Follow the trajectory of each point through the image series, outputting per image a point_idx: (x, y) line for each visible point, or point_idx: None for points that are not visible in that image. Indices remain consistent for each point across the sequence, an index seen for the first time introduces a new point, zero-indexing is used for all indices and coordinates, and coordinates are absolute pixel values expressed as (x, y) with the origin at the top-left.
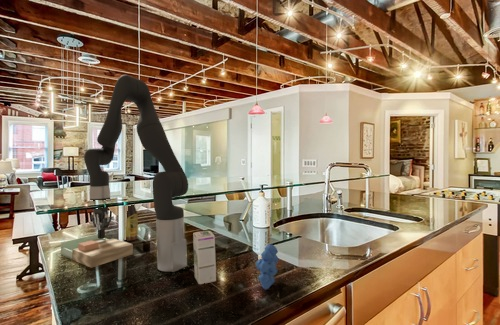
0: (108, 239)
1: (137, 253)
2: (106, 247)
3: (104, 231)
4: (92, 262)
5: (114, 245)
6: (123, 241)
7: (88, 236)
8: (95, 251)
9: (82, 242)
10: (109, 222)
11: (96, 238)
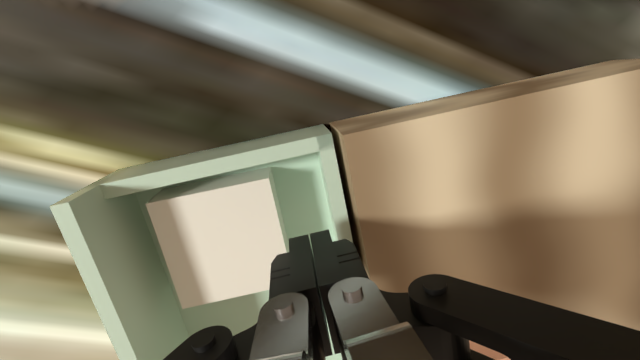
0: (242, 155)
1: (626, 25)
2: (581, 266)
3: (366, 274)
4: None
5: (588, 200)
6: (545, 92)
7: (131, 342)
8: None
9: None
10: (611, 334)
11: (121, 244)
